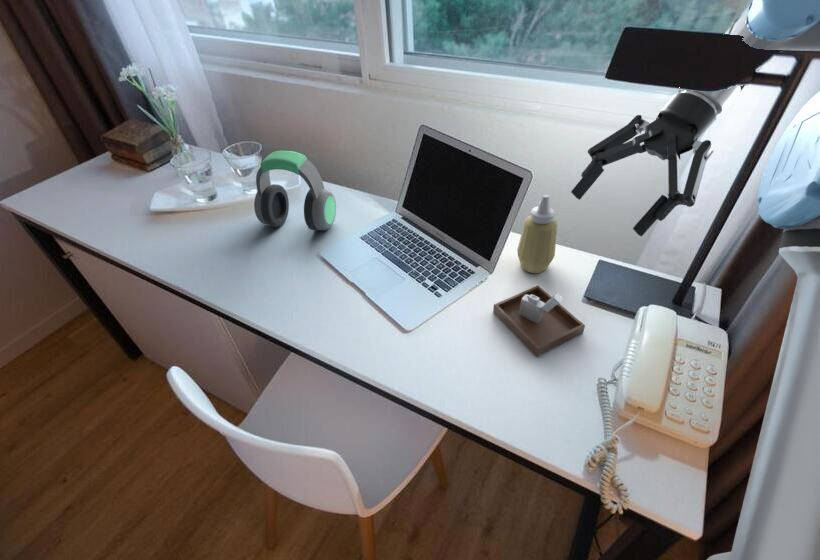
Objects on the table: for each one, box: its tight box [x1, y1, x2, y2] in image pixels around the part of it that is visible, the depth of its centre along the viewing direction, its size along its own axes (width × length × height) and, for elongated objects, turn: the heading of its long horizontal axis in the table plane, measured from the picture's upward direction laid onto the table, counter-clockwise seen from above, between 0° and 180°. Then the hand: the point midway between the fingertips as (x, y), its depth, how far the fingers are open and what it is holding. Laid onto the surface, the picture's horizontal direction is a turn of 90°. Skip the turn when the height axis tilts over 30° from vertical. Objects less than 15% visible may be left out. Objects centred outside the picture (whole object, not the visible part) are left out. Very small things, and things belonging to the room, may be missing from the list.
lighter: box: [519, 292, 563, 323], centre depth 82 cm, size 7×2×8 cm, turn 49°
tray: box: [492, 284, 586, 358], centre depth 84 cm, size 13×11×2 cm
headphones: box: [253, 150, 337, 232], centre depth 109 cm, size 19×11×20 cm, turn 77°
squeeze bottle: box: [516, 194, 558, 274], centre depth 92 cm, size 8×8×18 cm
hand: (604, 213), depth 74 cm, fingers open, 13 cm apart
